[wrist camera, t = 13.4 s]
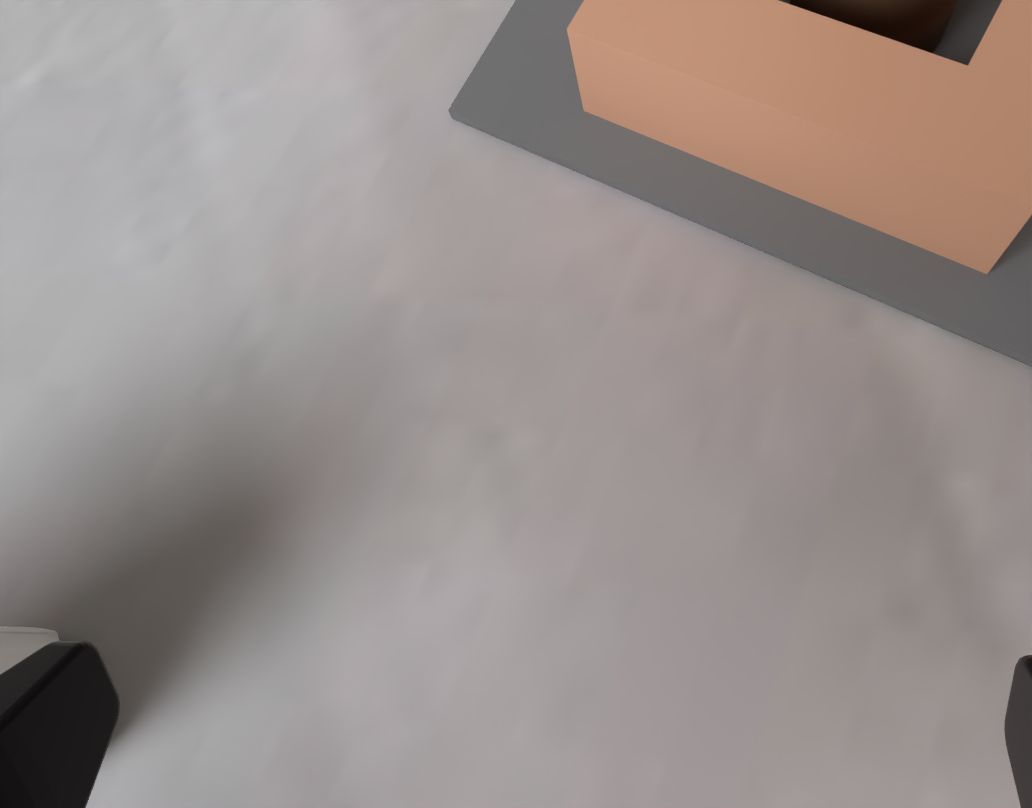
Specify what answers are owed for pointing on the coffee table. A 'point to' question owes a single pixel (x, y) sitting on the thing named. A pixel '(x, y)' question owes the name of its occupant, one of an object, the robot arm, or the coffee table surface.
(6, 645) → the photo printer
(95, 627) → the coffee table surface
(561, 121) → the mat
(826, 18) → the socket block
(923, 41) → the walnut peg
